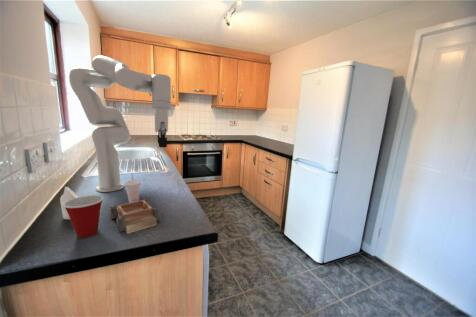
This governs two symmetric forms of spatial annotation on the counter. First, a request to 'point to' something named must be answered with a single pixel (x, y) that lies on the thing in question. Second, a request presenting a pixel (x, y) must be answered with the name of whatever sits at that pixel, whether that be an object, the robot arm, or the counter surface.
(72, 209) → the plastic cup
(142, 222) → the chassis
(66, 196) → the roll
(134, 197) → the smoothie
